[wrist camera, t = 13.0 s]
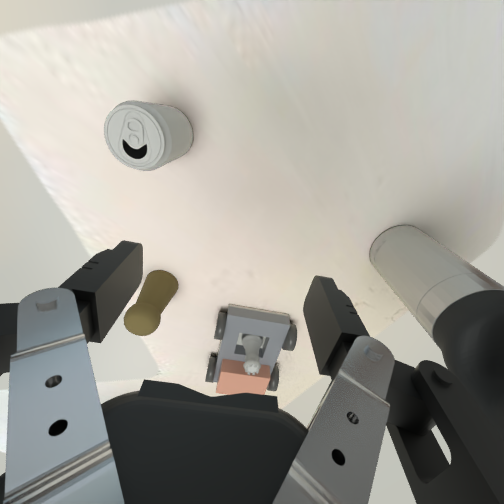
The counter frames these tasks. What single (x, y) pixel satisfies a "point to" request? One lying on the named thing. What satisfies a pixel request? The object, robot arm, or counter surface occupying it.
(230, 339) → the toy truck
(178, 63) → the counter surface
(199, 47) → the counter surface
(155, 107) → the beverage can
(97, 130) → the counter surface
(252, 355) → the rook chess piece
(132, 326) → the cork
